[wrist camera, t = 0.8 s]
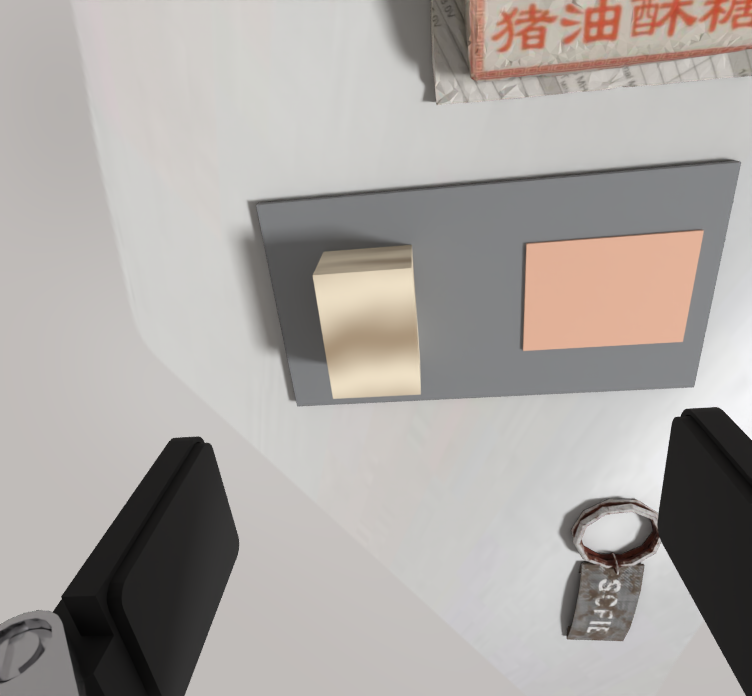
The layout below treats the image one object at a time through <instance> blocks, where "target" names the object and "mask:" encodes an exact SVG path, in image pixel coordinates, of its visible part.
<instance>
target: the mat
mask: <svg viewBox="0 0 752 696" xmlns="http://www.w3.org/2000/svg"><path fill="white" fill-rule="evenodd" d="M740 165H741V162H739V161H725V162H713V163H702V164H691V165H680V166H668V167H657V168H646V169H635V170H624V171H612V172H601V173H590V174H579V175H567V176H556V177H545V178H534V179H522V180H511V181H500V182H489V183H478V184H466V185H455V186H444V187H433V188H421V189H410V190H399V191H388V192H376V193H365V194H354V195H343V196H331V197H320V198H309V199H298V200H287V201H275V202H264V203H258V204H257V205H256V207H257V212H258V217H259V222H260V227H261V232H262V237H263V242H264V246H265V251H266V256H267V261H268V266H269V271H270V276H271V281H272V285H273V290H274V295H275V300H276V305H277V310H278V315H279V320H280V325H281V329H282V334H283V339H284V344H285V349H286V354H287V359H288V364H289V369H290V373H291V378H292V383H293V388H294V393H295V398H296V403H297V406H315V405H335V404H356V403H377V402H398V401H418V400H439V399H460V398H480V397H501V396H522V395H542V394H563V393H584V392H604V391H625V390H646V389H667V388H687V387H694V385H695V380H696V375H697V371H698V366H699V361H700V356H701V351H702V347H703V342H704V337H705V332H706V328H707V323H708V318H709V313H710V309H711V304H712V299H713V294H714V289H715V285H716V280H717V275H718V270H719V266H720V261H721V256H722V251H723V247H724V242H725V237H726V232H727V227H728V223H729V218H730V213H731V208H732V204H733V199H734V194H735V189H736V184H737V180H738V175H739V170H740ZM403 245H412V254H413V268H414V282H415V296H416V310H417V324H418V338H419V352H420V380H421V395H401V396H381V397H361V398H341V399H333V395H332V389H331V383H330V377H329V371H328V365H327V359H326V353H325V347H324V341H323V335H322V329H321V323H320V317H319V311H318V305H317V299H316V293H315V287H314V281H313V273H314V271H315V269H316V267H317V265H318V263H319V261H320V258H321V256H322V254H323V252H326V251H339V250H352V249H364V248H377V247H390V246H403Z"/></svg>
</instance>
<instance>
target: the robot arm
mask: <svg viewBox="0 0 752 696" xmlns="http://www.w3.org/2000/svg"><path fill="white" fill-rule="evenodd" d="M657 527H658V533H659V537H660V540H661V542H662V544H663V546H664V547H665V549H666V551H667V553H668V555H669V557H670V558H671V560H672V562H673V564H674V566H675V567H676V569H677V571H678V573H679V575H680V577H681V578H682V580H683V582H684V584H685V586H686V587H687V589H688V591H689V593H690V595H691V597H692V598H693V600H694V602H695V604H696V606H697V607H698V609H699V611H700V613H701V615H702V617H703V618H704V620H705V622H706V623H707V626H708V627H709V629H710V631H711V633H712V635H713V636H714V638H715V640H716V642H717V644H718V646H719V647H720V649H721V651H722V653H723V655H724V656H725V658H726V660H727V662H728V664H729V665H730V667H731V669H732V671H733V673H734V675H735V676H736V678H737V680H738V682H739V684H740V686H741V687H742V689H743V691H744V693H745V695H746V696H752V440H751V439H750V438H749V437H748V436H747V435H746V434H745V433H744V432H743V431H742V430H741V429H740V428H739V427H738V426H737V425H736V424H735V423H734V421H733V420H732V419H731V418H730V417H729V416H728V415H727V414H726V413H725V412H724V411H723V410H721V409H720V408H717V407H711V408H693V409H685V410H684V411H683V412H682V414H681V417H675V418H674V419H673V421H672V426H671V433H670V440H669V446H668V453H667V460H666V467H665V473H664V480H663V487H662V494H661V500H660V507H659V514H658V521H657ZM238 551H239V539H238V534H237V530H236V527H235V524H234V520H233V517H232V513H231V510H230V507H229V503H228V499H227V496H226V492H225V489H224V486H223V482H222V478H221V475H220V472H219V468H218V465H217V461H216V458H215V454H214V451H213V448H212V446H211V445H210V444H209V443H204V440H203V439H202V438H201V437H182V438H173V439H171V441H169V442H168V444H167V445H166V447H165V448H164V450H163V451H162V452H161V454H160V455H159V457H158V458H157V460H156V461H155V463H154V464H153V465H152V467H151V468H150V470H149V471H148V473H147V474H146V475H145V477H144V478H143V480H142V481H141V483H140V484H139V485H138V487H137V488H136V490H135V491H134V493H133V494H132V496H131V497H130V498H129V500H128V501H127V503H126V505H125V506H124V507H123V509H122V510H121V511H120V513H119V514H118V516H117V517H116V519H115V520H114V521H113V523H112V525H111V526H110V527H109V529H108V530H107V532H106V533H105V535H104V536H103V537H102V539H101V540H100V542H99V543H98V545H97V546H96V547H95V549H94V550H93V552H92V553H91V555H90V556H89V557H88V559H87V560H86V562H85V563H84V565H83V566H82V568H81V569H80V570H79V572H78V573H77V575H76V576H75V578H74V579H73V581H72V582H71V583H70V585H69V586H68V588H67V589H66V591H65V592H64V593H63V595H62V596H61V597H62V600H61V601H60V602H59V604H58V605H57V607H56V608H55V610H54V611H53V612H51V611H42V610H36V611H32V612H27V613H23V614H21V615H18V616H16V617H13V618H11V619H8V620H7V621H5V622H4V623H2V624H0V696H184V695H185V693H186V690H187V687H188V685H189V682H190V679H191V677H192V674H193V672H194V669H195V666H196V664H197V661H198V658H199V656H200V653H201V650H202V648H203V645H204V643H205V640H206V637H207V635H208V632H209V629H210V626H211V624H212V621H213V619H214V616H215V614H216V611H217V608H218V605H219V603H220V600H221V598H222V595H223V592H224V590H225V587H226V584H227V582H228V579H229V576H230V574H231V571H232V569H233V565H234V563H235V560H236V558H237V555H238Z"/></svg>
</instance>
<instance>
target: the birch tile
mask: <svg viewBox="0 0 752 696" xmlns="http://www.w3.org/2000/svg"><path fill="white" fill-rule="evenodd" d="M313 281H314V287H315V293H316V299H317V305H318V311H319V317H320V323H321V329H322V335H323V341H324V347H325V353H326V359H327V365H328V371H329V377H330V383H331V389H332V395H333V399H341V398H361V397H381V396H401V395H421V380H420V352H419V338H418V324H417V310H416V296H415V282H414V268H413V254H412V245H403V246H390V247H377V248H364V249H352V250H339V251H326V252H323V254H322V256H321V258H320V261H319V263H318V265H317V267H316V269H315V271H314V273H313Z"/></svg>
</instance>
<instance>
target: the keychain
mask: <svg viewBox="0 0 752 696" xmlns="http://www.w3.org/2000/svg"><path fill="white" fill-rule="evenodd" d="M624 512H634V513H637V514H639V515H642V516H644V517H647V518H650V520H651V522H652V528H653V532H652V533H651V534H650V536H649V537H648V538H647V540H646V541H645V542H644V544H643V545H642V546H640V547H637V548H635V549H633V550H630V551H628V552H625V553H623V554H614V553H613V552H612V553H611V554H598V553H596V552H594V551H592V550H591V549H589V548H587V547H585V546H584V545H583V543H582V537H583V534H584V532H585V529H586V527H587V526H589V525H590V524H592V523H594V522H595V521H597V520H598V519H600V518H601V517H603V516H605V515H607V514H616V513H624ZM657 521H658V512H656V511H654V510H653V509H651V508H650V507H648V506H646V505H645V504H643V503H642V502H640V501H638V500H633V499H608V500H605V501H603V502H601V503H599V504H597V505H595V506H592V507H590V508H588V509H586V510H584V511H583V512H582V514H581V515H580V517H579V518H578V520H577V521H576V523H575V525H574V526H573V528H572V529H571V532H572V536H573V543H574V545H575V547H576V549H577V550H578V552H579V553H580V555H581V557H582V558H583V559H584V560H585V561H588V562H591V563H581V566H580V569H579V573H581V577H580V587H579V593H578V598H577V604H576V609H575V613H574V618H573V622H572V626H568V629H567V639H573V640H604V641H623V640H624V638H625V636H626V635H627V633H628V631H629V629H630V626H631V623H632V620H633V617H634V614H635V610H636V607H637V603H638V599H639V595H640V591H641V585H642V578H643V572H644V564H638V563H640V562H641V561H643V560H645V559H647V558H648V557H650V556H652V555H654V554H655V553H656V552H657V550H658V548H659V546H660V544H661V540H660V537H659V533H658V527H657Z"/></svg>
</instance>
